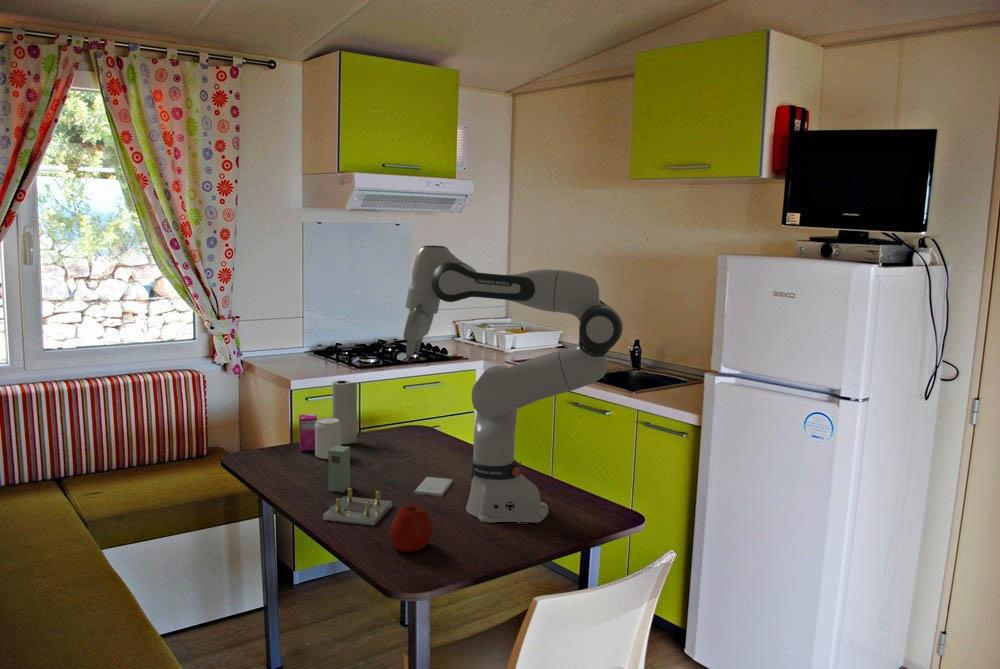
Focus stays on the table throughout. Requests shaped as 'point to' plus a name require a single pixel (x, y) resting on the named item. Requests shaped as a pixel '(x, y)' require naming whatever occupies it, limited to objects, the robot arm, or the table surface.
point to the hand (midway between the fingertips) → (412, 353)
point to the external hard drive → (433, 486)
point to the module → (339, 468)
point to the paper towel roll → (345, 409)
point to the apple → (411, 529)
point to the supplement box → (307, 432)
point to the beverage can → (326, 436)
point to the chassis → (358, 509)
